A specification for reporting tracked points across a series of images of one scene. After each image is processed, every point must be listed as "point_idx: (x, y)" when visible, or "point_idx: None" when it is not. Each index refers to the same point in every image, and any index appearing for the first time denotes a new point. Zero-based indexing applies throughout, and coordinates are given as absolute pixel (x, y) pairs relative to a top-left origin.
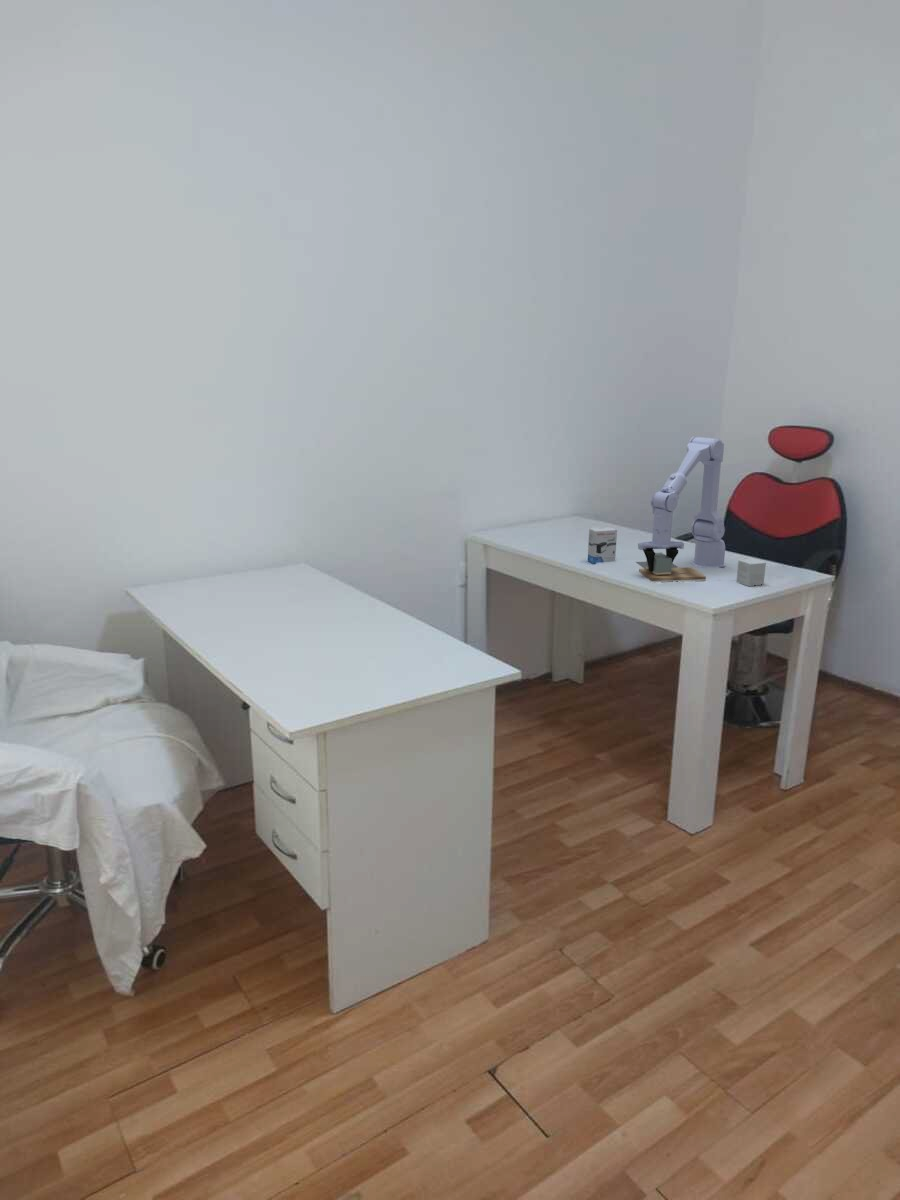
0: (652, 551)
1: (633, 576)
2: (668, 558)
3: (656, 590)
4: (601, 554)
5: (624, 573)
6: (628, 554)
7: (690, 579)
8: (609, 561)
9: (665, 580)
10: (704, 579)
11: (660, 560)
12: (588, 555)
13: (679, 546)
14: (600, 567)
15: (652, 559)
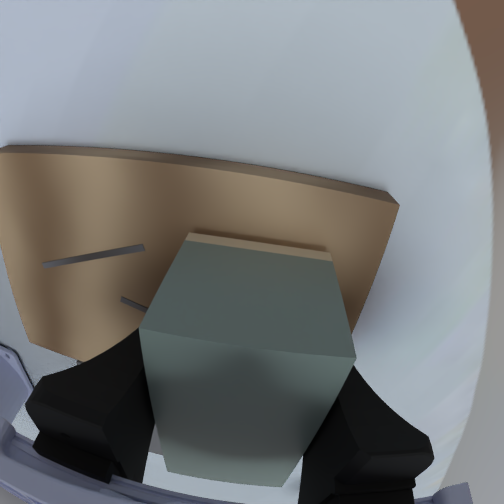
0: (365, 475)
1: (385, 348)
2: (178, 354)
3: (452, 9)
4: None
5: (384, 394)
6: (210, 498)
7: (73, 149)
8: None
9: (273, 172)
10: (5, 147)
11: (306, 342)
12: None
13: (11, 448)
14: None
15: (352, 394)
